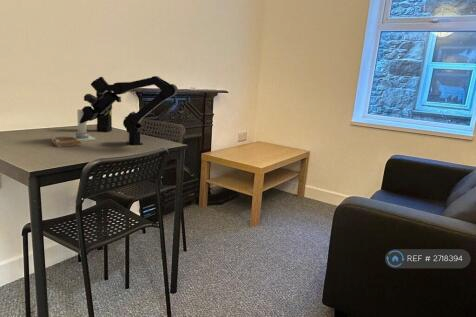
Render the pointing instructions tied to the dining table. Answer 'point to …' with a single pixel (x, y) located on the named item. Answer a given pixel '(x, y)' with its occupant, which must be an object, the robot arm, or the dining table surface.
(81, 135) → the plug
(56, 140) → the brown wooden square tray
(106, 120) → the portable radio
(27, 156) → the dining table surface
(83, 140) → the pad
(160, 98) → the robot arm
